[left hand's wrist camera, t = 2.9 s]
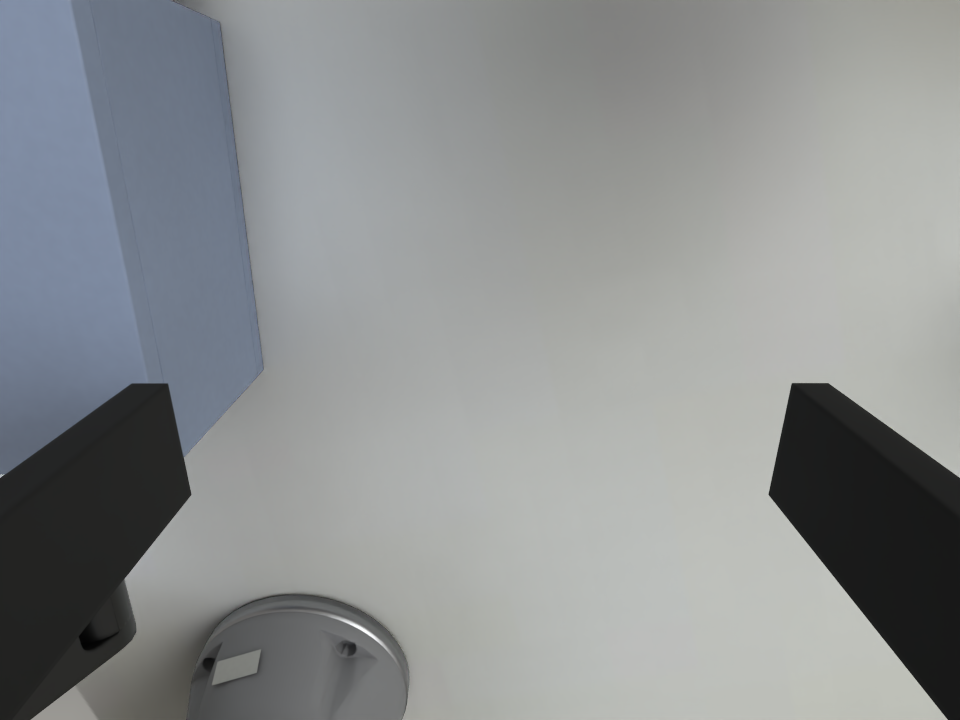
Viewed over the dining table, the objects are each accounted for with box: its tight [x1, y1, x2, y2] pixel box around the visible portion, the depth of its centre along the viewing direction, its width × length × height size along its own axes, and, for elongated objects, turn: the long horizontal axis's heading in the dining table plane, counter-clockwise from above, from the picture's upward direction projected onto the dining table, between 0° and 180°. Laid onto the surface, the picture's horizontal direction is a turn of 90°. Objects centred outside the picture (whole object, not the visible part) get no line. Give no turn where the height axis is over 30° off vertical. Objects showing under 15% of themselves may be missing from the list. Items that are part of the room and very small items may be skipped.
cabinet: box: [0, 0, 263, 474], centre depth 26 cm, size 18×11×12 cm, turn 179°
